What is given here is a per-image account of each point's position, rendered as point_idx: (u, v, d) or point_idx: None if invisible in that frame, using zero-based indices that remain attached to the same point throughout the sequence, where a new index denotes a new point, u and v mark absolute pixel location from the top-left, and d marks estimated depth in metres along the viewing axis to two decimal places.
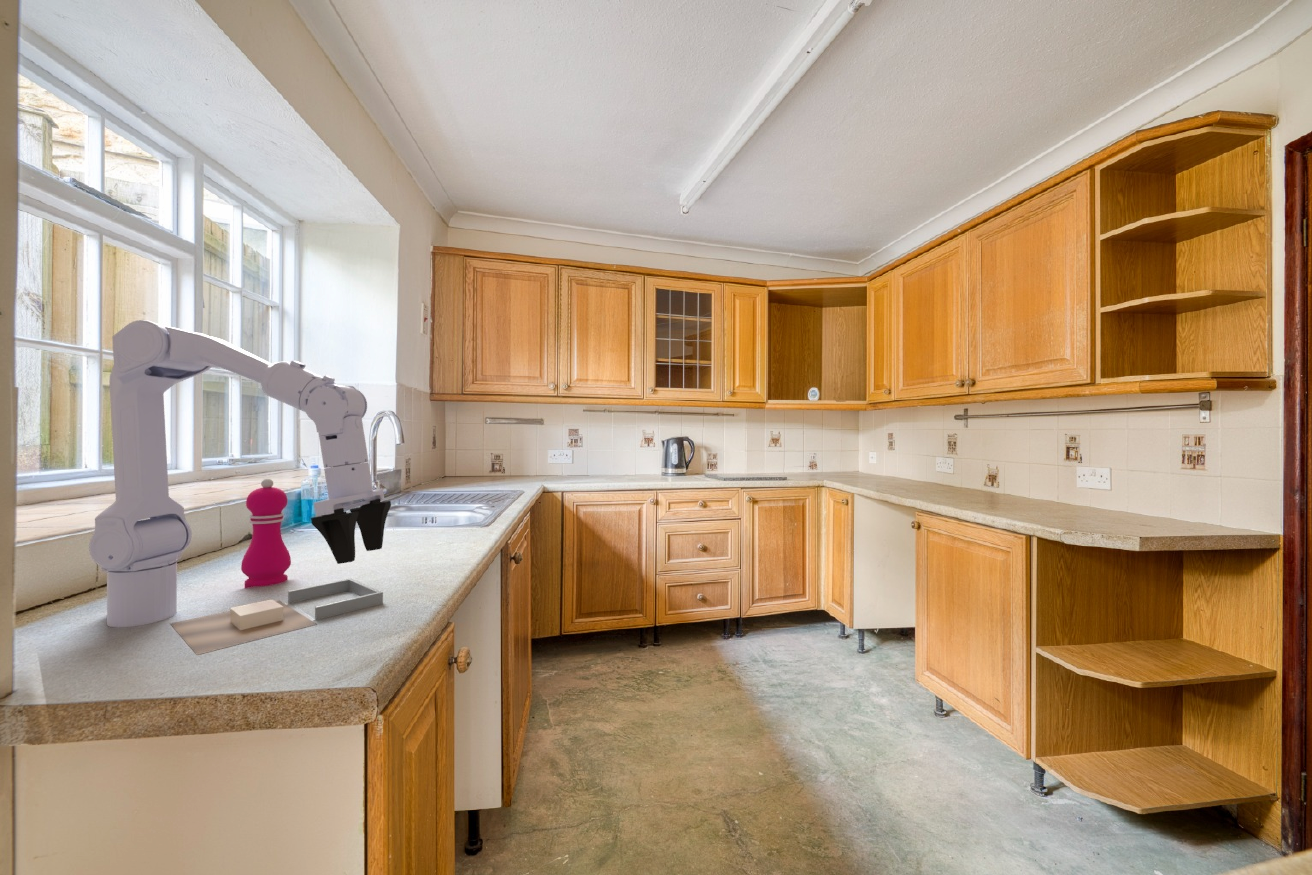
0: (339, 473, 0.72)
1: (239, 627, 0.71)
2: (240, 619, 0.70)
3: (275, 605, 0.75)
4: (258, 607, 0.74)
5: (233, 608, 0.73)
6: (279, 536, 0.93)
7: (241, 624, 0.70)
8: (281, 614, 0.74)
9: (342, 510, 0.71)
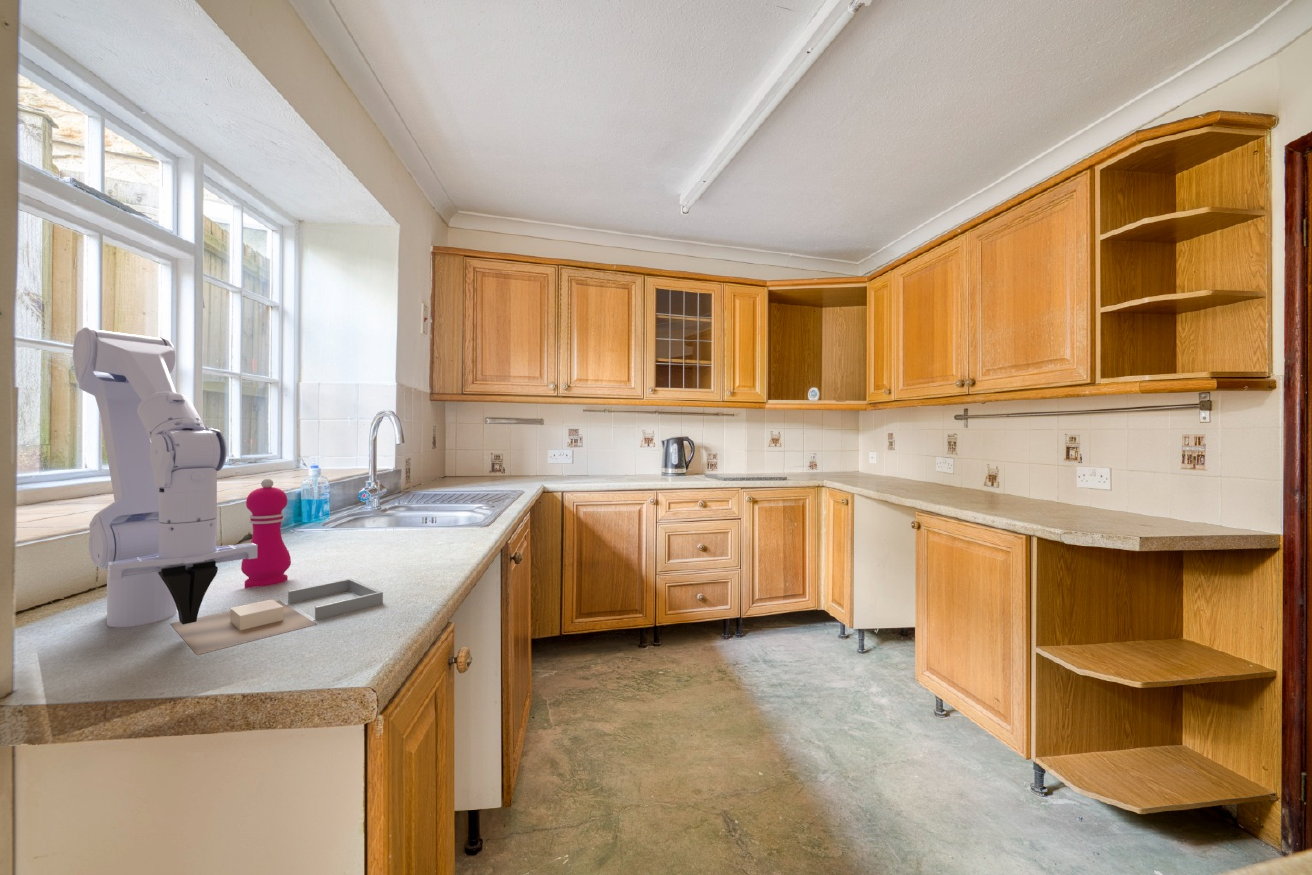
0: (159, 531, 0.65)
1: (239, 627, 0.71)
2: (240, 619, 0.70)
3: (275, 605, 0.75)
4: (258, 607, 0.74)
5: (233, 608, 0.73)
6: (279, 536, 0.93)
7: (241, 624, 0.70)
8: (281, 614, 0.74)
9: (145, 574, 0.64)
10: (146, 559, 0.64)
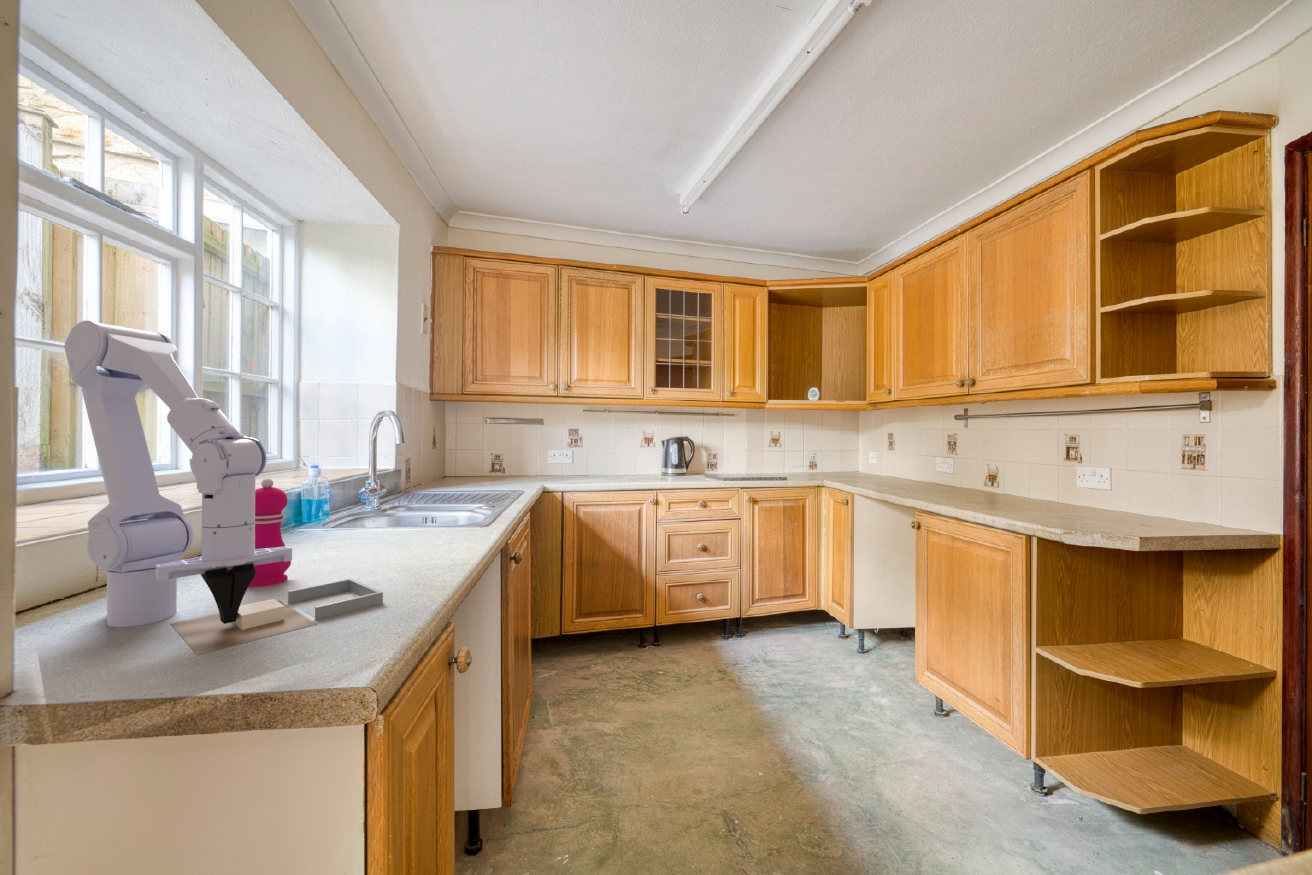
0: (203, 535, 0.69)
1: (241, 627, 0.71)
2: (242, 619, 0.71)
3: (276, 604, 0.75)
4: (259, 607, 0.74)
5: None
6: (279, 536, 0.93)
7: (243, 624, 0.71)
8: (282, 613, 0.74)
9: None
10: (190, 562, 0.68)
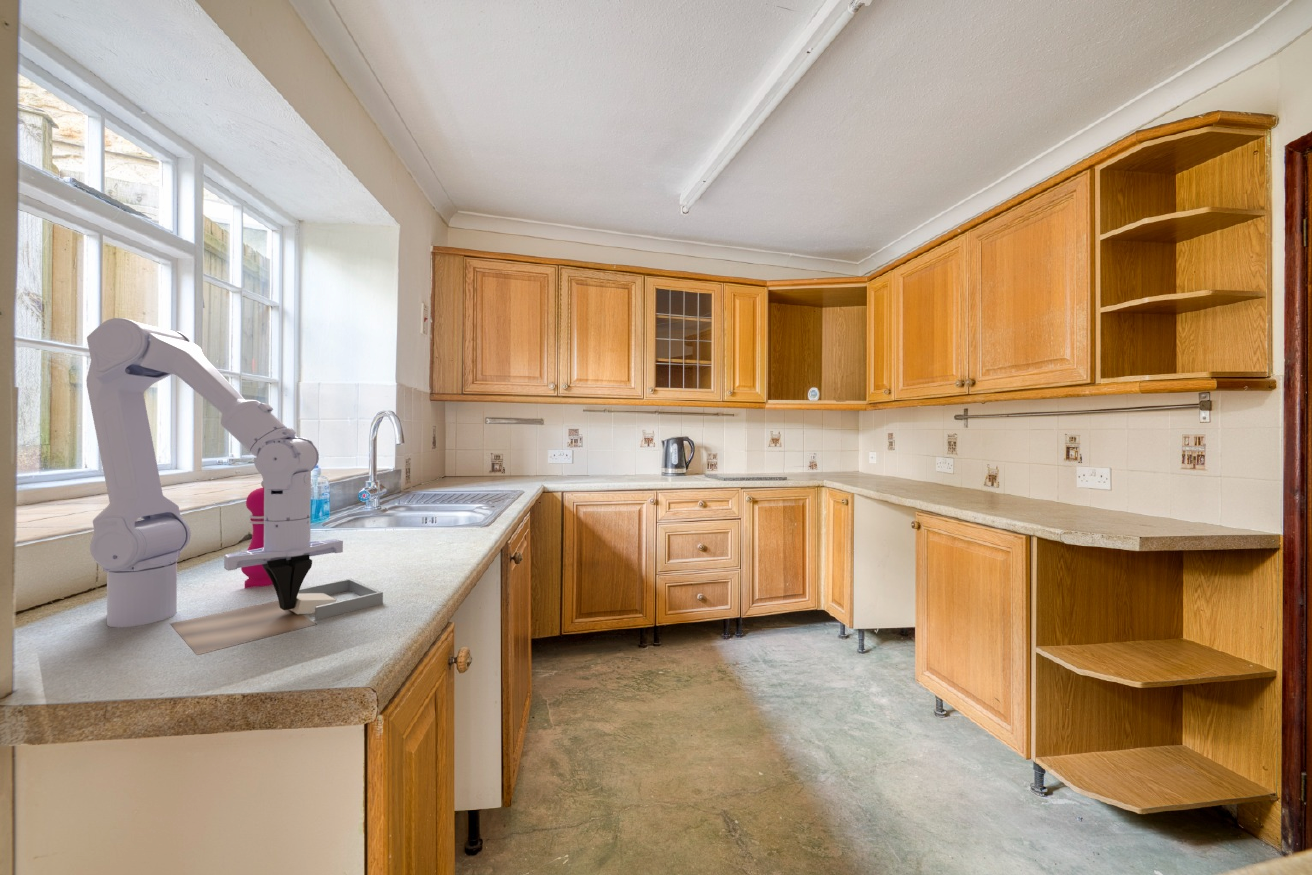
0: (265, 527, 0.74)
1: (296, 611, 0.76)
2: (300, 603, 0.76)
3: (328, 597, 0.80)
4: (314, 597, 0.79)
5: None
6: None
7: (299, 608, 0.76)
8: None
9: None
10: (255, 552, 0.73)
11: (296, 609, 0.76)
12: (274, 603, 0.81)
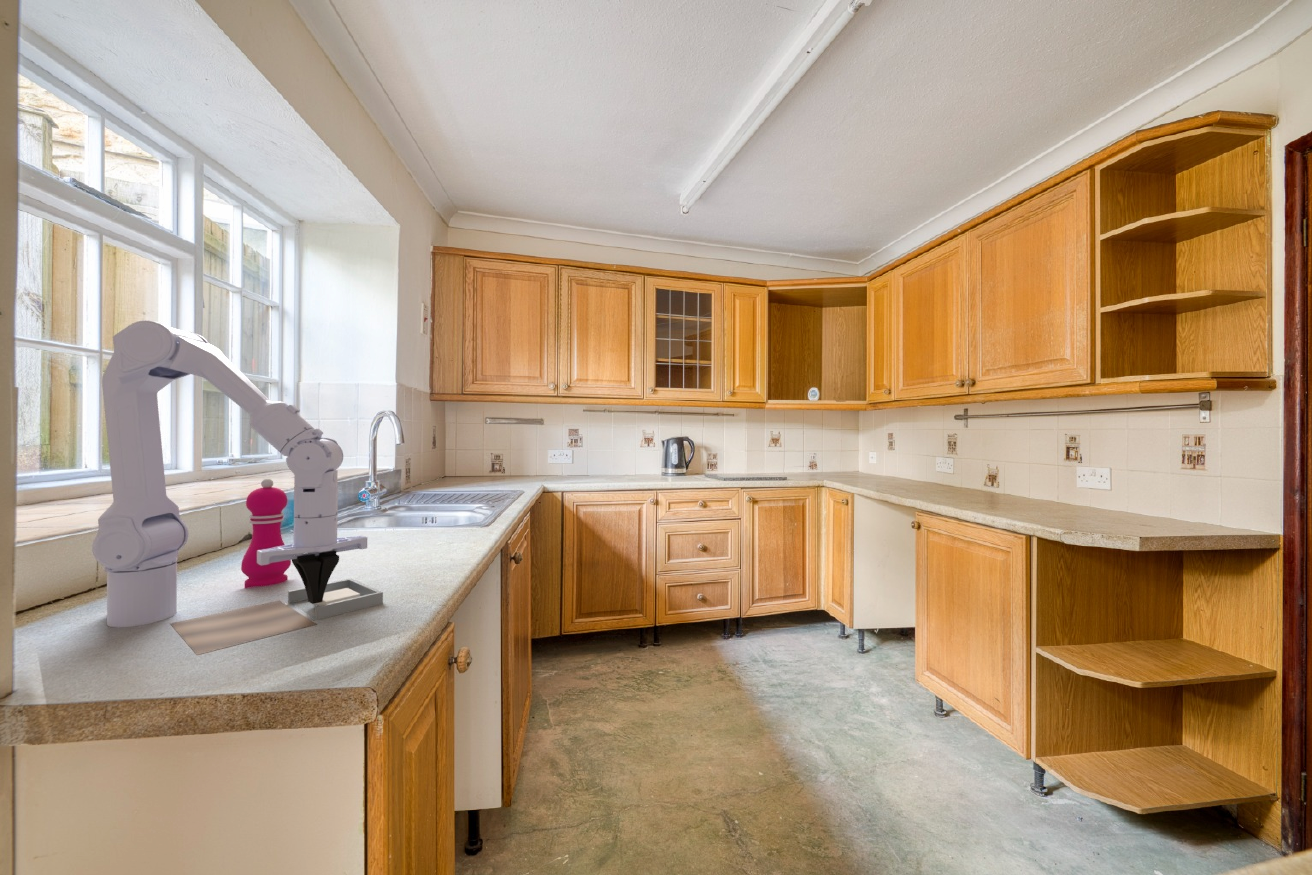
0: (296, 524, 0.77)
1: None
2: None
3: (352, 592, 0.83)
4: (338, 594, 0.82)
5: None
6: (279, 536, 0.93)
7: None
8: None
9: None
10: (285, 548, 0.76)
11: None
12: (274, 603, 0.81)
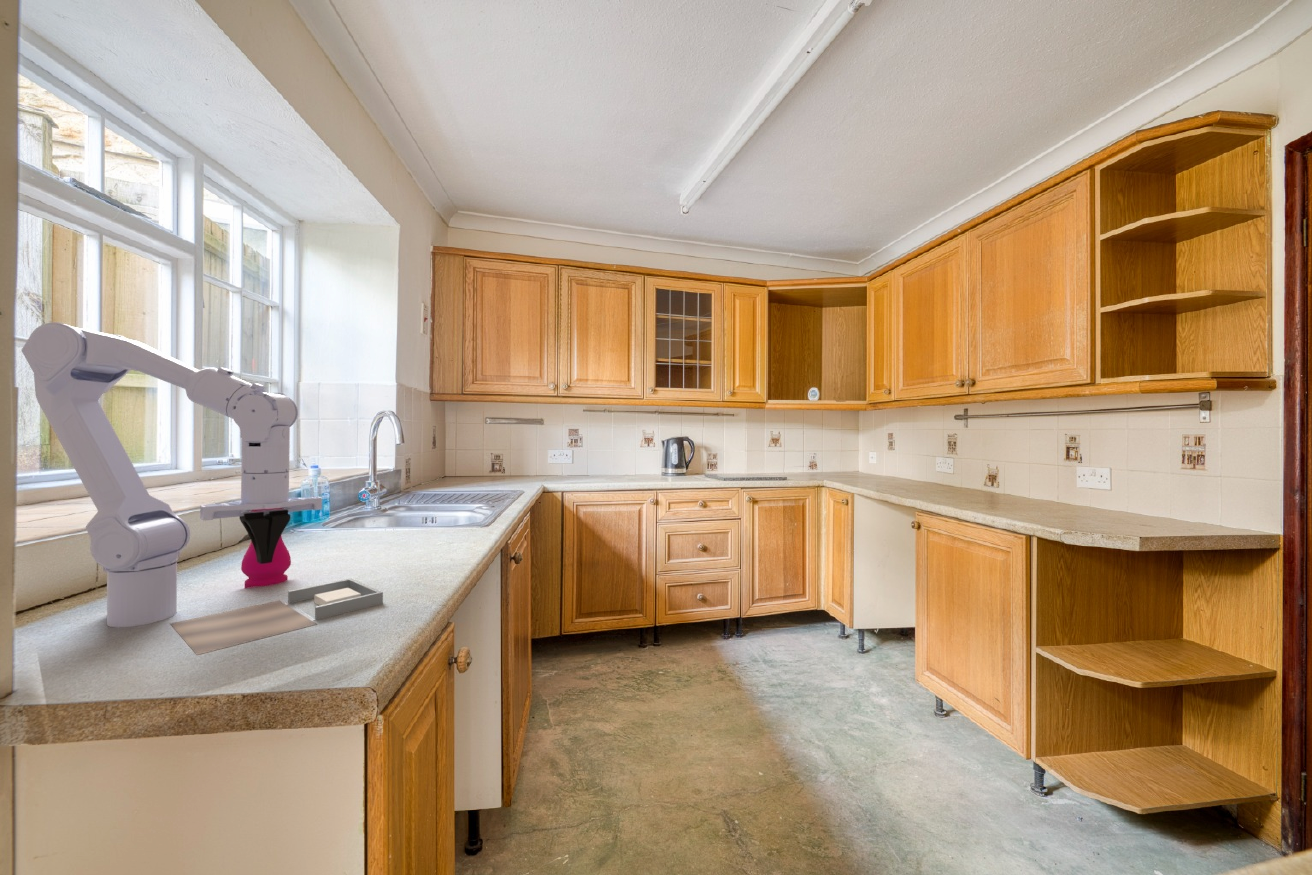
0: (243, 480, 0.74)
1: None
2: None
3: (353, 592, 0.83)
4: (339, 594, 0.82)
5: (317, 595, 0.82)
6: None
7: None
8: None
9: None
10: (231, 504, 0.73)
11: None
12: (274, 603, 0.81)
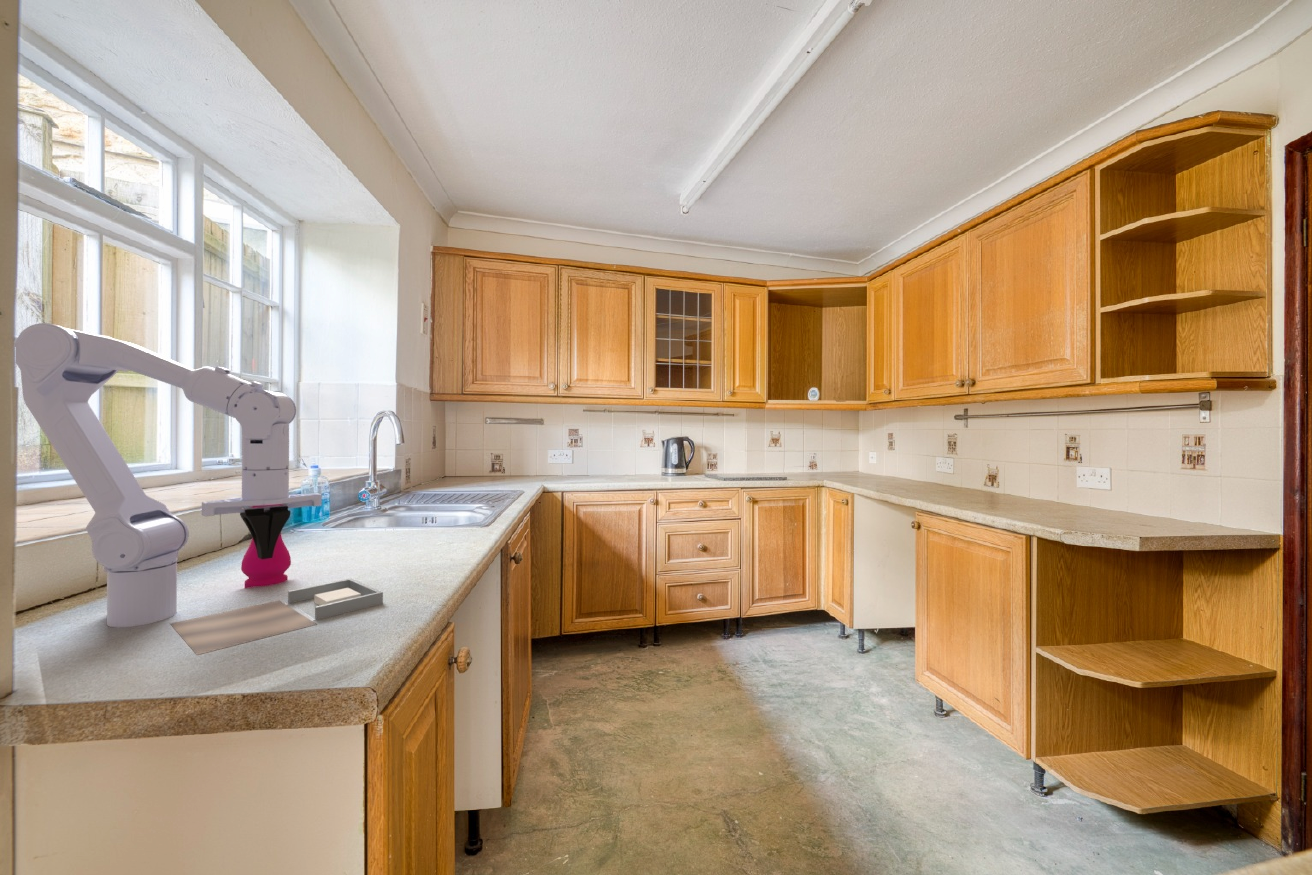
0: (243, 477, 0.75)
1: None
2: None
3: (353, 592, 0.83)
4: (339, 594, 0.82)
5: (317, 595, 0.82)
6: (279, 536, 0.93)
7: None
8: None
9: None
10: (232, 501, 0.74)
11: None
12: (274, 603, 0.81)
